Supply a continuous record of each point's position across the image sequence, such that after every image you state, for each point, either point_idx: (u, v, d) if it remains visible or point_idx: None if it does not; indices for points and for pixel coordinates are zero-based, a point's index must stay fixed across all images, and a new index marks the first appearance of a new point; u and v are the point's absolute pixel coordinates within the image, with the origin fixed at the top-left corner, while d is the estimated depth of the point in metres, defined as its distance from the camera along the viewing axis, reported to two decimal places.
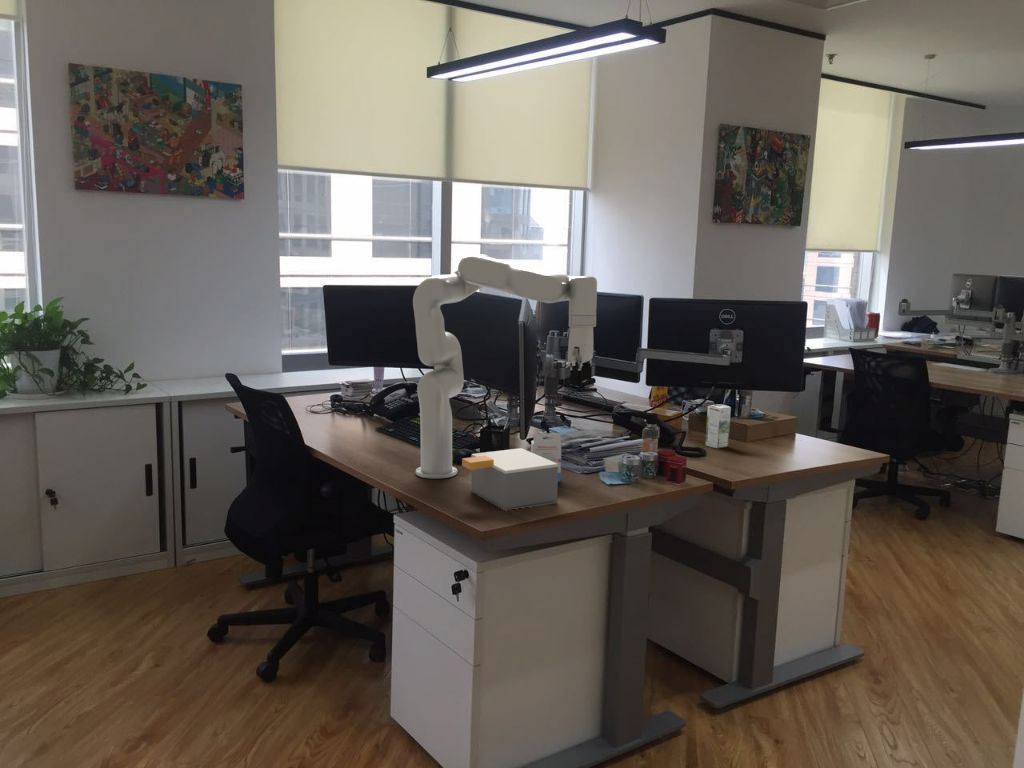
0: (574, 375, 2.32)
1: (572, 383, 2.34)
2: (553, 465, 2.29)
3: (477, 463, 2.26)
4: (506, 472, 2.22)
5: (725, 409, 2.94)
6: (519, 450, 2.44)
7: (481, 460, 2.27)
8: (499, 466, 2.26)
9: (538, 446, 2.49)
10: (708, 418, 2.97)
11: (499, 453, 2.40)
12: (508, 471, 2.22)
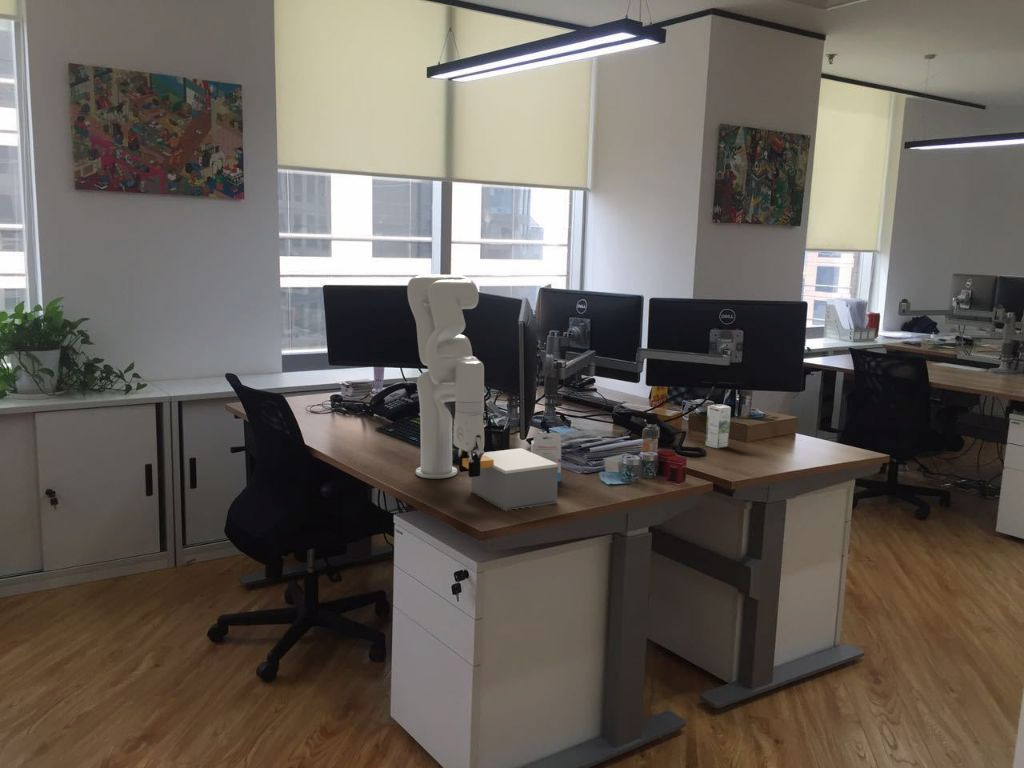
0: (475, 467, 2.24)
1: (471, 475, 2.25)
2: (553, 465, 2.29)
3: None
4: (506, 472, 2.22)
5: (725, 409, 2.94)
6: (519, 450, 2.44)
7: (481, 460, 2.27)
8: (499, 466, 2.26)
9: (538, 446, 2.49)
10: (708, 418, 2.97)
11: (499, 453, 2.40)
12: (508, 471, 2.22)
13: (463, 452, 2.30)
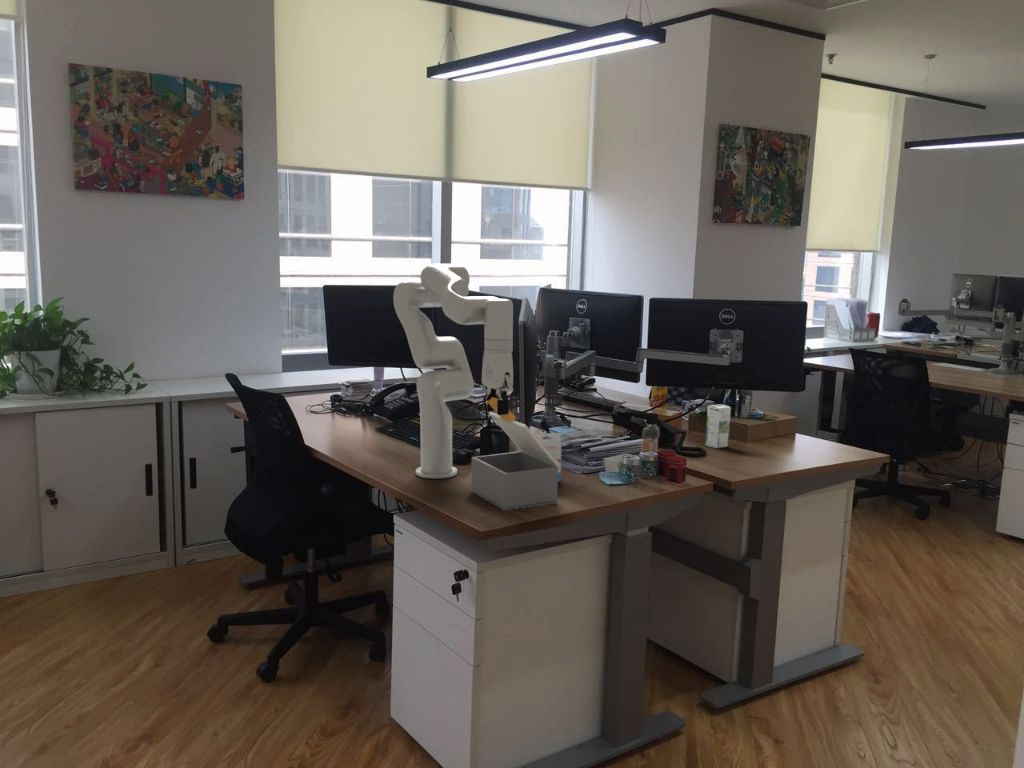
0: (503, 405, 2.26)
1: (500, 413, 2.26)
2: (556, 462, 2.29)
3: None
4: (525, 426, 2.22)
5: (725, 409, 2.94)
6: None
7: None
8: None
9: None
10: (708, 418, 2.97)
11: None
12: (527, 427, 2.23)
13: (491, 391, 2.31)
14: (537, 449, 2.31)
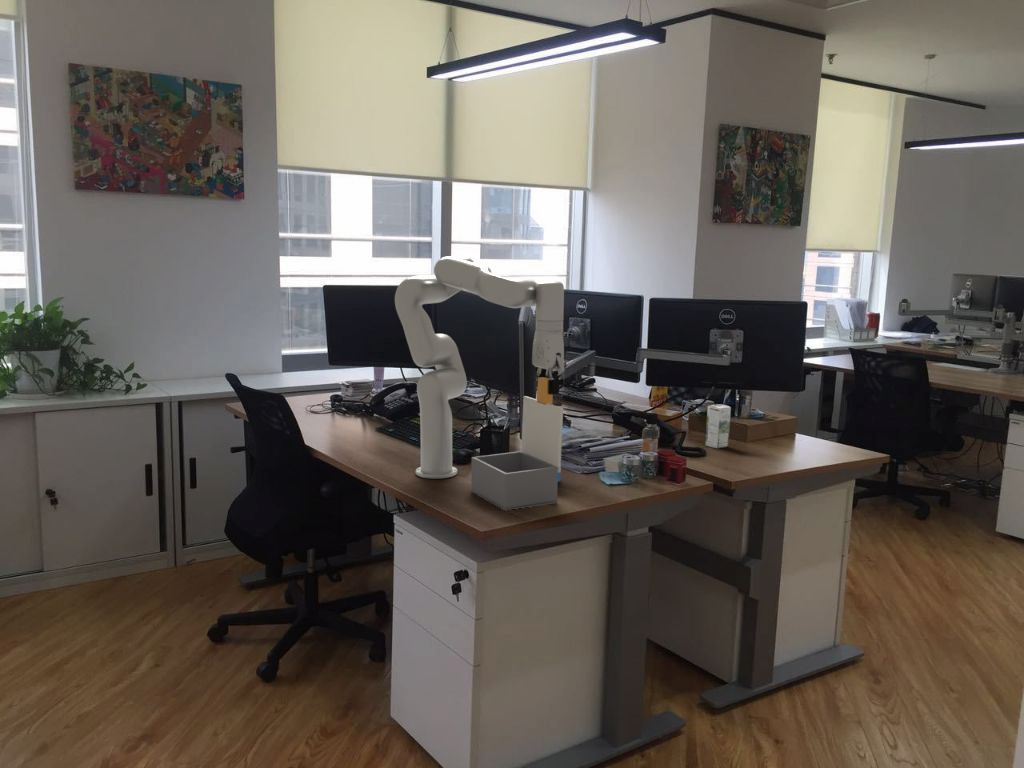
0: (554, 384, 2.32)
1: (551, 392, 2.33)
2: (559, 461, 2.29)
3: None
4: (561, 409, 2.27)
5: (725, 409, 2.94)
6: None
7: None
8: None
9: None
10: (708, 418, 2.97)
11: None
12: (562, 411, 2.27)
13: (541, 372, 2.38)
14: (550, 442, 2.32)
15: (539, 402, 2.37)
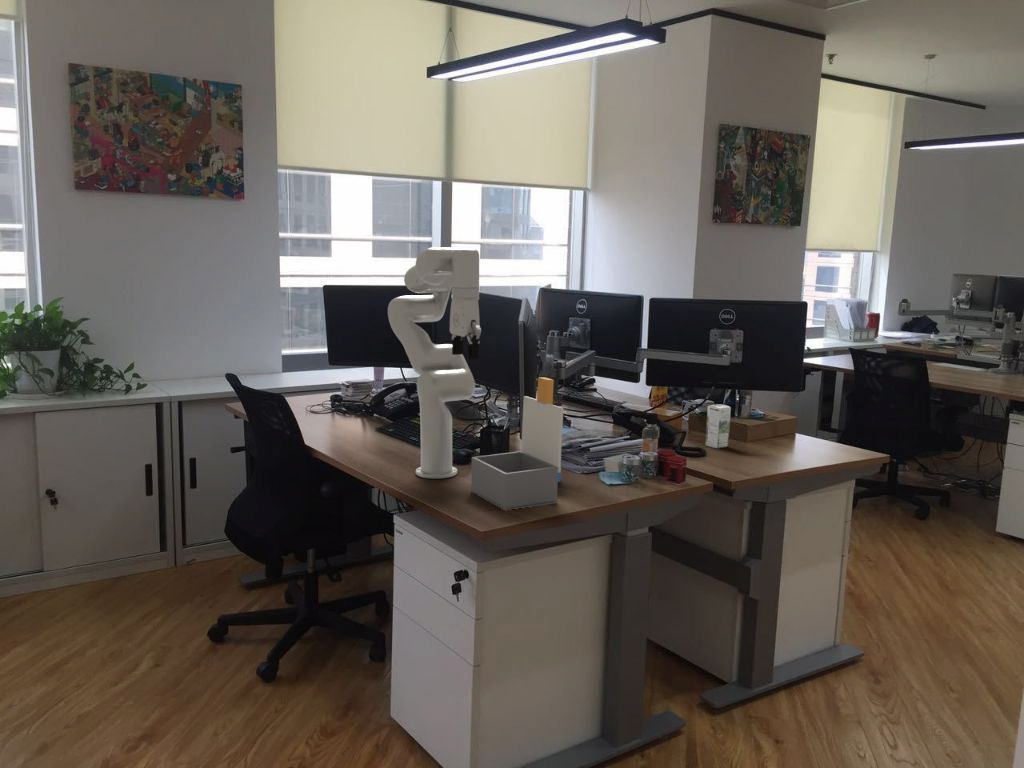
0: (473, 349, 2.30)
1: (470, 357, 2.31)
2: (559, 461, 2.29)
3: (551, 387, 2.34)
4: (561, 409, 2.27)
5: (725, 409, 2.94)
6: None
7: None
8: None
9: None
10: (708, 418, 2.97)
11: None
12: (562, 411, 2.27)
13: (456, 336, 2.39)
14: (550, 442, 2.32)
15: (539, 402, 2.37)
